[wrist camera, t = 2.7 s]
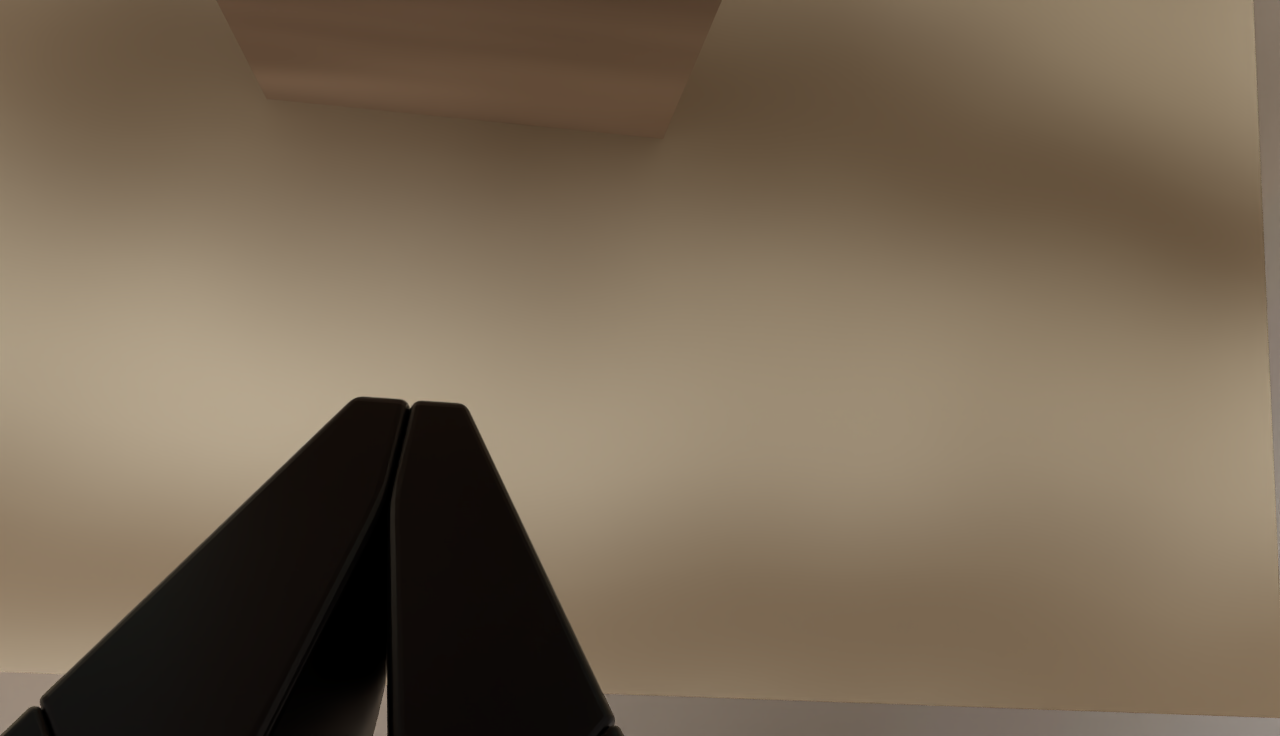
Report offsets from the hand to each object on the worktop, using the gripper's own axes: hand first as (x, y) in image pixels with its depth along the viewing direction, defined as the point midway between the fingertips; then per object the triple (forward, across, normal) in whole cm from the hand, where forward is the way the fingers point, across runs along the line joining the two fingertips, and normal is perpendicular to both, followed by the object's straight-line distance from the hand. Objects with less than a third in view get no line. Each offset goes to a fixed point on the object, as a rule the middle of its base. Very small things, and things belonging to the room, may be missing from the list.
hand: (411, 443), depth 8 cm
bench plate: (+9, 0, +2) cm, 9 cm away
